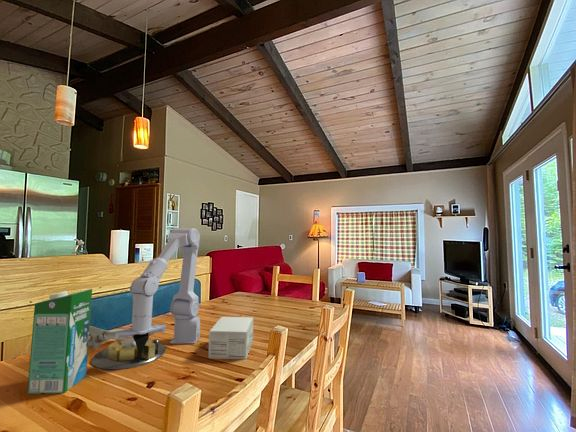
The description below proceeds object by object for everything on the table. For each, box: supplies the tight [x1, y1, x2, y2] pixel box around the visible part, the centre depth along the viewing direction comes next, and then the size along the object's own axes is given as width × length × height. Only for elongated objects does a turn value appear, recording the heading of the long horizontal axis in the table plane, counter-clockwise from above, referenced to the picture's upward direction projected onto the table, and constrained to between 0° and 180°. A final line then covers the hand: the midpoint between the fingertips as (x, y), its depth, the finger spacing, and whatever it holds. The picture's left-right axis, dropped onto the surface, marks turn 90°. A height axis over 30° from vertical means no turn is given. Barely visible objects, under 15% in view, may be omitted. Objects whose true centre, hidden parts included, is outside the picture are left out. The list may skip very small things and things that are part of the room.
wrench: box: [88, 325, 158, 350], centre depth 108 cm, size 8×2×30 cm
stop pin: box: [152, 338, 160, 354], centre depth 96 cm, size 2×2×5 cm
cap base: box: [90, 336, 166, 371], centre depth 96 cm, size 22×22×5 cm
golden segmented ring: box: [107, 337, 155, 361], centre depth 95 cm, size 13×17×4 cm
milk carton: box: [26, 288, 93, 395], centre depth 77 cm, size 9×9×25 cm
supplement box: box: [208, 316, 254, 360], centre depth 102 cm, size 17×13×9 cm
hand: (139, 358), depth 89 cm, fingers closed
